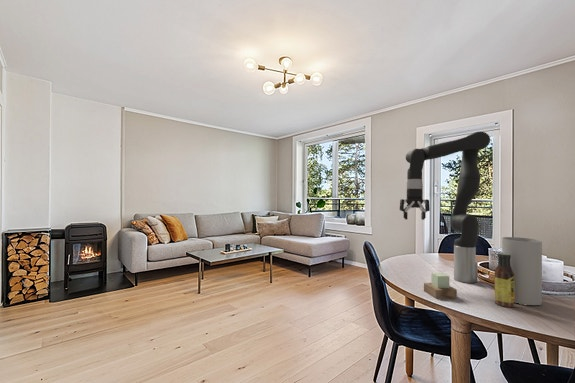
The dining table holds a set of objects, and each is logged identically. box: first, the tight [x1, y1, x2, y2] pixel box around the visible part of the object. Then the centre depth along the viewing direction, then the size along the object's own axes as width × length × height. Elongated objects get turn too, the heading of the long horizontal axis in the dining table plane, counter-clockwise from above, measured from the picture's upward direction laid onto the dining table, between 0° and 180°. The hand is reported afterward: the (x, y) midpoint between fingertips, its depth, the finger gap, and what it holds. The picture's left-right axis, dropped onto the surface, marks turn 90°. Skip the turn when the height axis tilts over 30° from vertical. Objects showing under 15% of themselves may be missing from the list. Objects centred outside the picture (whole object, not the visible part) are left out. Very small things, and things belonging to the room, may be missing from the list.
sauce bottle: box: [494, 252, 515, 308], centre depth 110 cm, size 7×6×20 cm
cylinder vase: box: [501, 236, 543, 306], centre depth 114 cm, size 12×12×25 cm
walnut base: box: [423, 282, 458, 300], centre depth 120 cm, size 9×9×4 cm
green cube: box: [430, 272, 450, 288], centre depth 121 cm, size 5×5×5 cm
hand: (414, 219), depth 144 cm, fingers open, 8 cm apart
